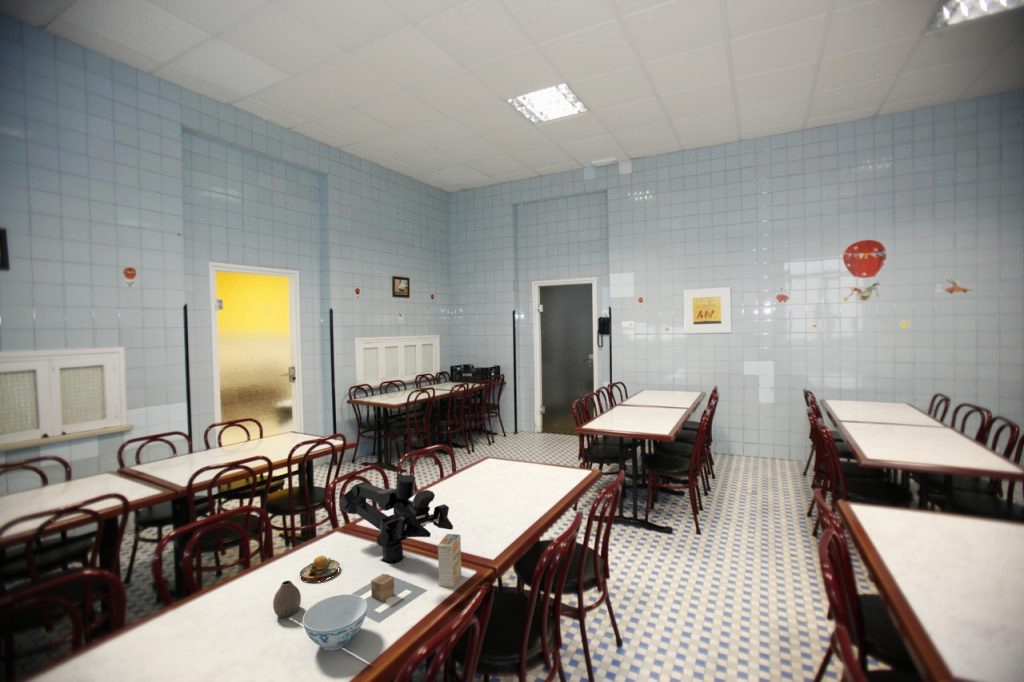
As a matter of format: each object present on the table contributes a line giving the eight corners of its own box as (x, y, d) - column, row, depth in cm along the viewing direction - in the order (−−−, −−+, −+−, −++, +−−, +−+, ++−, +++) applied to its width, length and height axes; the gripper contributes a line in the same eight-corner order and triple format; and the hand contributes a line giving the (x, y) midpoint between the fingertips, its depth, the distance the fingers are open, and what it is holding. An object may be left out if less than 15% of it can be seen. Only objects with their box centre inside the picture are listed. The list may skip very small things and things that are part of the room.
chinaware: (306, 671, 106) (304, 638, 106) (302, 634, 119) (301, 604, 119) (373, 649, 113) (372, 617, 113) (362, 616, 126) (361, 588, 126)
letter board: (336, 604, 132) (336, 602, 132) (386, 575, 147) (386, 573, 147) (379, 625, 122) (379, 622, 122) (427, 592, 137) (427, 590, 137)
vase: (306, 608, 131) (305, 578, 130) (287, 623, 124) (286, 591, 124) (287, 604, 133) (286, 574, 133) (267, 619, 126) (266, 587, 126)
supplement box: (453, 589, 138) (452, 546, 138) (438, 588, 139) (437, 545, 139) (462, 575, 146) (461, 534, 146) (447, 574, 147) (446, 533, 147)
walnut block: (371, 597, 134) (371, 580, 134) (383, 590, 138) (383, 573, 138) (382, 602, 132) (381, 584, 131) (394, 594, 135) (393, 577, 135)
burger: (340, 562, 158) (339, 540, 157) (339, 579, 146) (338, 555, 146) (302, 568, 154) (301, 546, 154) (297, 587, 143) (296, 563, 142)
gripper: (389, 492, 143) (422, 512, 133) (435, 482, 157) (467, 500, 148) (383, 526, 143) (415, 549, 134) (429, 514, 158) (461, 533, 148)
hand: (441, 531), depth 141 cm, fingers open, 9 cm apart
